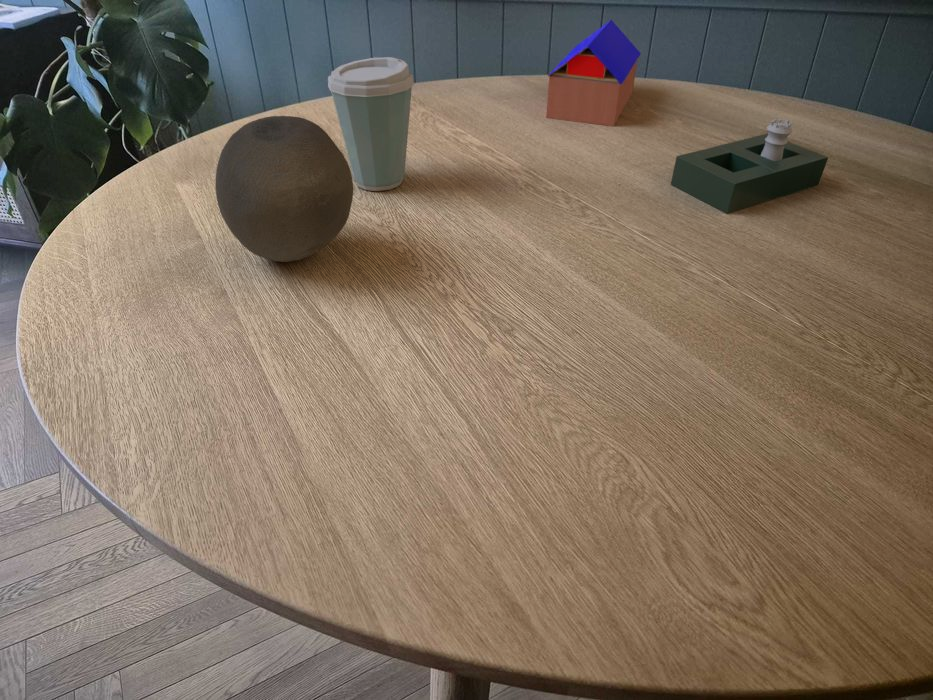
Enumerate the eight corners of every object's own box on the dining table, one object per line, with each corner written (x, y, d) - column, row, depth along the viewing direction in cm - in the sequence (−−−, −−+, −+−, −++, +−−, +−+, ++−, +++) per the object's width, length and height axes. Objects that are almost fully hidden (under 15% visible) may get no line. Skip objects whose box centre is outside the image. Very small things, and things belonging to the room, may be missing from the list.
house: (543, 118, 110) (549, 42, 103) (570, 84, 125) (577, 16, 118) (615, 127, 107) (626, 50, 100) (634, 91, 122) (645, 22, 114)
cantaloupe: (214, 289, 68) (176, 147, 59) (251, 225, 79) (223, 97, 70) (351, 290, 68) (334, 149, 59) (368, 226, 79) (356, 99, 70)
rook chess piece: (783, 177, 91) (801, 119, 87) (779, 189, 88) (798, 130, 83) (749, 171, 93) (765, 114, 88) (744, 183, 90) (761, 124, 85)
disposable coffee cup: (357, 205, 84) (345, 82, 74) (326, 175, 91) (311, 60, 82) (431, 187, 88) (428, 69, 79) (396, 160, 95) (389, 49, 86)
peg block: (759, 160, 96) (767, 133, 94) (818, 185, 89) (828, 157, 87) (670, 184, 89) (676, 155, 87) (726, 213, 82) (735, 183, 80)
